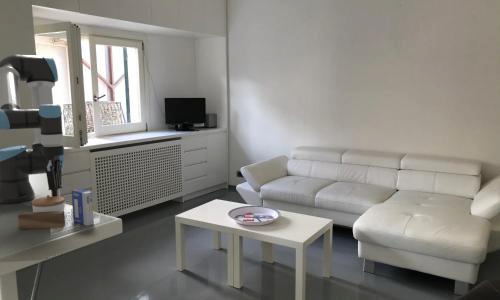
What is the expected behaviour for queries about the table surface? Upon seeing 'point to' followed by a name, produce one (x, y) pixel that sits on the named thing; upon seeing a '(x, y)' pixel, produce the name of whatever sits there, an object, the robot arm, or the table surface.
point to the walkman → (82, 207)
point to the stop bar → (41, 220)
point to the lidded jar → (48, 204)
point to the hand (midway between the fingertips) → (56, 205)
